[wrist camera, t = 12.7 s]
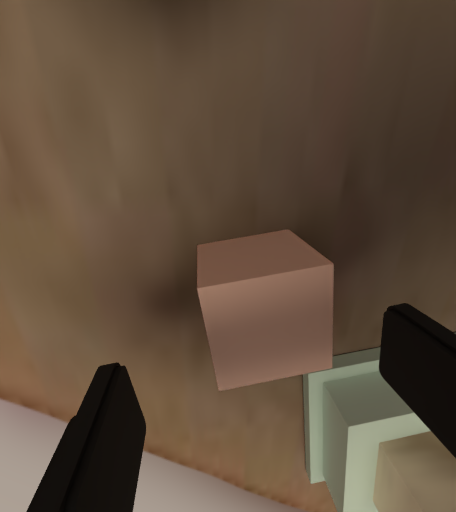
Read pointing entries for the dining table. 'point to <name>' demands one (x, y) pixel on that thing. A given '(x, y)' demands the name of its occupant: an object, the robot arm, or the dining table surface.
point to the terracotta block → (265, 307)
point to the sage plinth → (352, 426)
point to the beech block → (415, 475)
